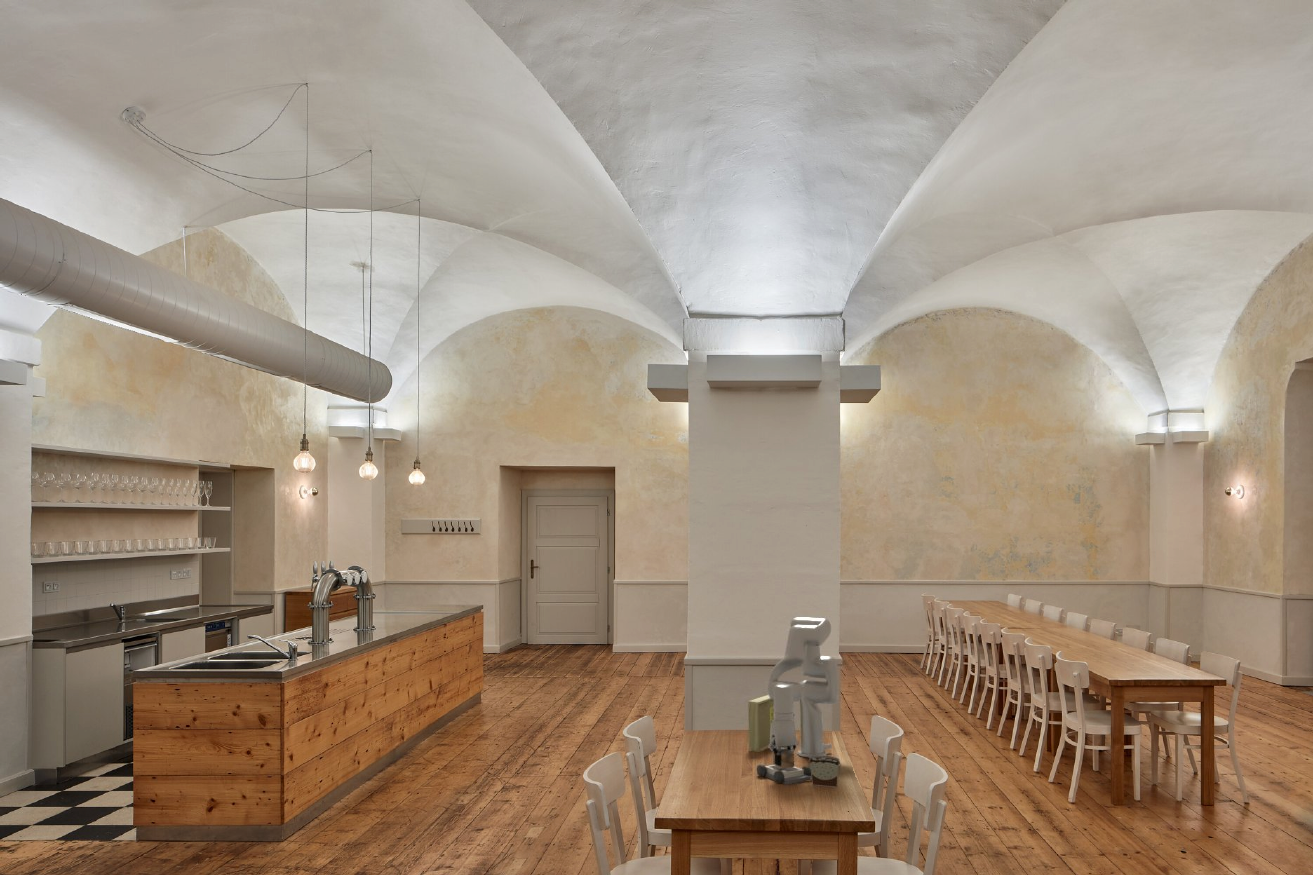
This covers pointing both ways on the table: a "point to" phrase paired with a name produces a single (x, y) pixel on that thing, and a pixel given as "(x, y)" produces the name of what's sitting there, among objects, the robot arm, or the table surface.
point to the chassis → (784, 773)
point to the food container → (824, 770)
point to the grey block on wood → (785, 758)
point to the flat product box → (760, 722)
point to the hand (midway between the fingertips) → (783, 763)
